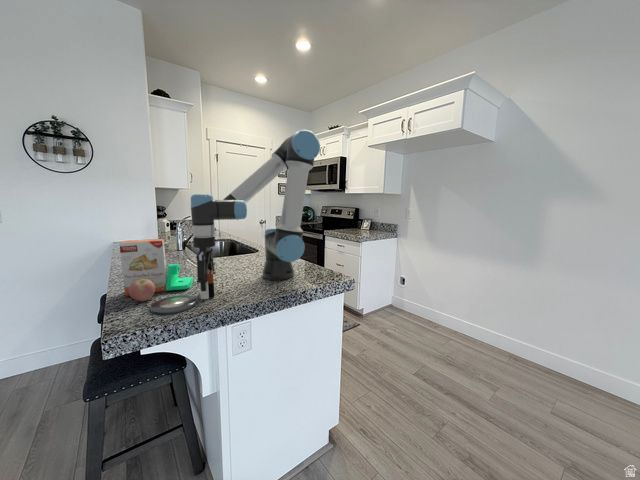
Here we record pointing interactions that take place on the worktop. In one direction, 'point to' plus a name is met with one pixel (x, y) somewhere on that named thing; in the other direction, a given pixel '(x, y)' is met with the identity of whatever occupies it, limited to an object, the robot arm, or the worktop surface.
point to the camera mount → (177, 279)
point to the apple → (142, 289)
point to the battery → (210, 282)
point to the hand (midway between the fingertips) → (207, 294)
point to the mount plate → (173, 304)
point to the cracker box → (144, 263)
